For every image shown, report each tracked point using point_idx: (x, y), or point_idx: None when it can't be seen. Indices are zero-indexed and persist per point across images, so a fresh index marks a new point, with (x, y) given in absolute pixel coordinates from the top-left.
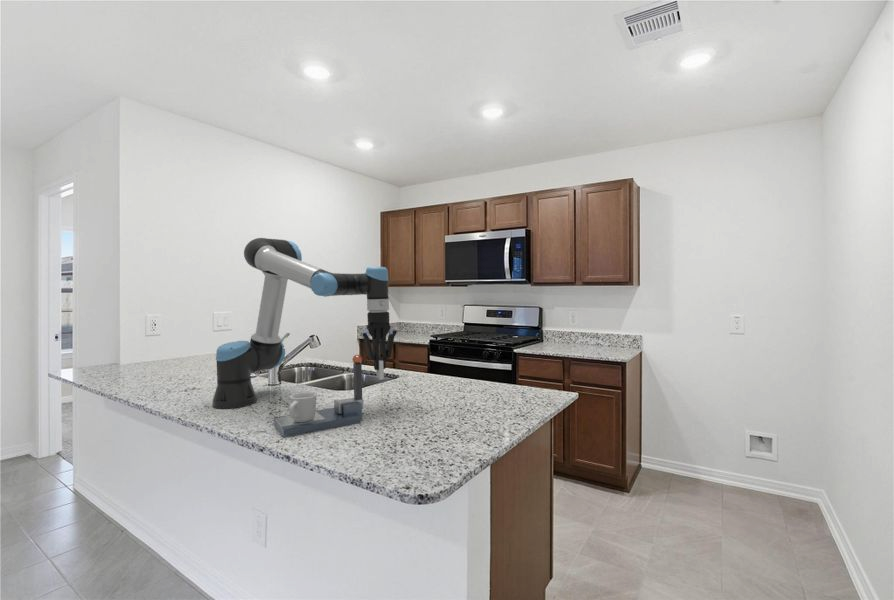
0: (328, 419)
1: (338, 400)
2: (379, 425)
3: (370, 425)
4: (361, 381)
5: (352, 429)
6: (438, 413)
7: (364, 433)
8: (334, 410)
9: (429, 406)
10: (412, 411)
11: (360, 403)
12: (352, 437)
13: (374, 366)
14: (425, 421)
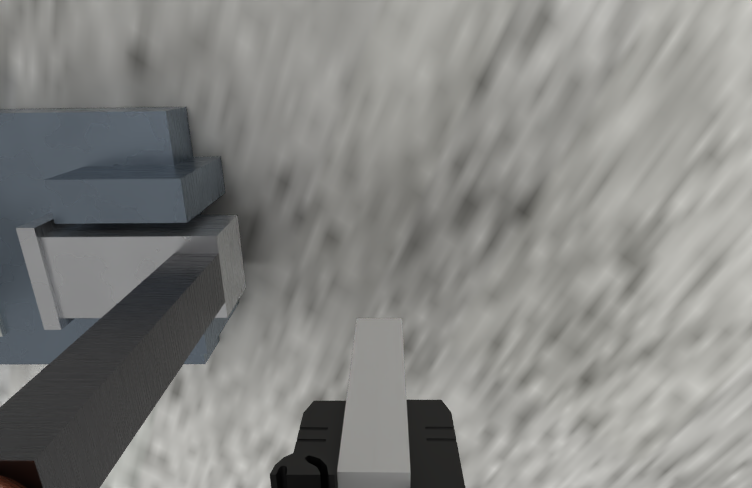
0: (25, 339)
1: (52, 247)
2: (291, 416)
3: (253, 395)
4: (167, 380)
5: (160, 401)
6: (631, 414)
7: (197, 468)
8: None
9: (691, 281)
10: (546, 313)
11: (200, 346)
12: (140, 482)
13: (300, 442)
14: (499, 475)
